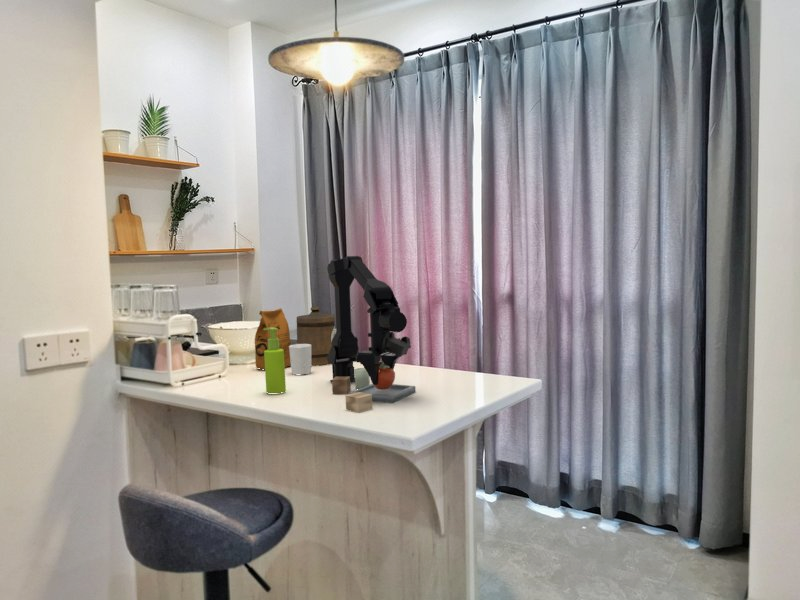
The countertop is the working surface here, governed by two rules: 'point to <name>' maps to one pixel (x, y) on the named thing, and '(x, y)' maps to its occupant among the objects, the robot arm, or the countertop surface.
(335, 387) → the walnut block
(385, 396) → the dish
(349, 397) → the beech block
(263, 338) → the coffee package
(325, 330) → the wooden container
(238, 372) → the countertop surface
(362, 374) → the sage green capsule
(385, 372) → the tomato
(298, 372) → the white cup
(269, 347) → the soap dispenser
